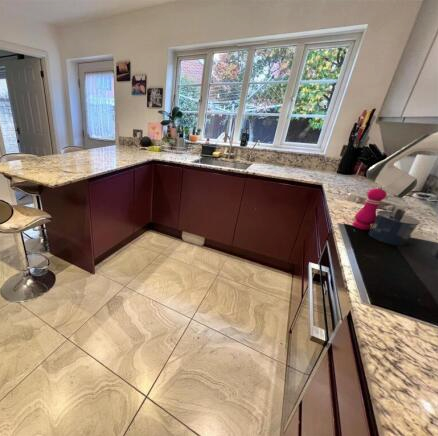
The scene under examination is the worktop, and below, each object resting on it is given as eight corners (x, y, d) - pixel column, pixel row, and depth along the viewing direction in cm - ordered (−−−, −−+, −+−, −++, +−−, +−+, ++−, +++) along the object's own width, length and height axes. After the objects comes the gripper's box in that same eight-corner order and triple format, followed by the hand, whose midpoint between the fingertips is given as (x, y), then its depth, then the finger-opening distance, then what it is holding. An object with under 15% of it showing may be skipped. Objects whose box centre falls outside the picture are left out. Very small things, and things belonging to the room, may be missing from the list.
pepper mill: (354, 228, 106) (374, 186, 97) (348, 222, 112) (367, 182, 103) (374, 231, 103) (396, 188, 95) (366, 225, 110) (387, 184, 101)
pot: (413, 245, 93) (426, 224, 89) (387, 245, 92) (399, 224, 88) (385, 231, 104) (395, 212, 100) (361, 231, 103) (370, 212, 99)
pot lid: (428, 226, 89) (434, 216, 87) (398, 226, 88) (404, 216, 86) (394, 213, 100) (399, 204, 99) (368, 213, 99) (372, 204, 98)
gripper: (353, 187, 116) (345, 192, 108) (410, 199, 102) (406, 205, 94) (348, 199, 119) (340, 204, 111) (403, 212, 105) (399, 219, 97)
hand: (371, 205), depth 102 cm, fingers open, 8 cm apart
